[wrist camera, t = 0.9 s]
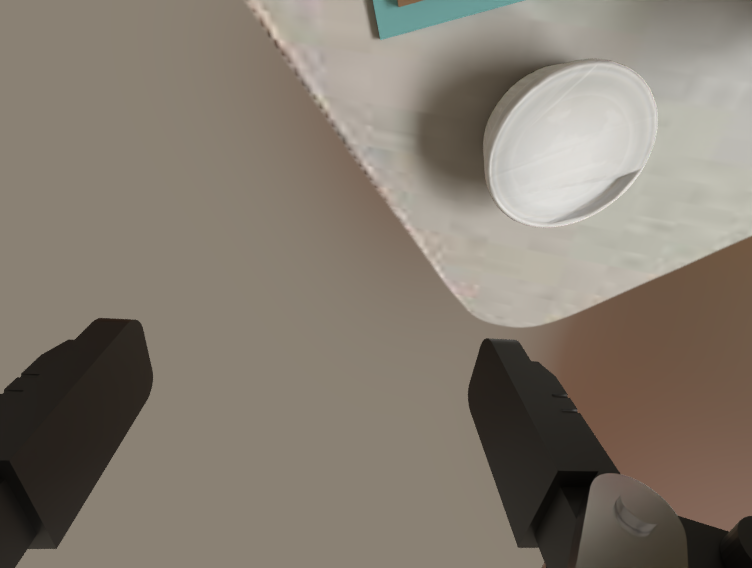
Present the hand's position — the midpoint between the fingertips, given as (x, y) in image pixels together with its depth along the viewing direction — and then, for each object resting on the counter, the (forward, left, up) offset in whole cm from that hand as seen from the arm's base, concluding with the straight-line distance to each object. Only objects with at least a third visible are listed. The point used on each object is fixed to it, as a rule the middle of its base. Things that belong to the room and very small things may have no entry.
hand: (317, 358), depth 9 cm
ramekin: (+5, +14, -25) cm, 29 cm away
